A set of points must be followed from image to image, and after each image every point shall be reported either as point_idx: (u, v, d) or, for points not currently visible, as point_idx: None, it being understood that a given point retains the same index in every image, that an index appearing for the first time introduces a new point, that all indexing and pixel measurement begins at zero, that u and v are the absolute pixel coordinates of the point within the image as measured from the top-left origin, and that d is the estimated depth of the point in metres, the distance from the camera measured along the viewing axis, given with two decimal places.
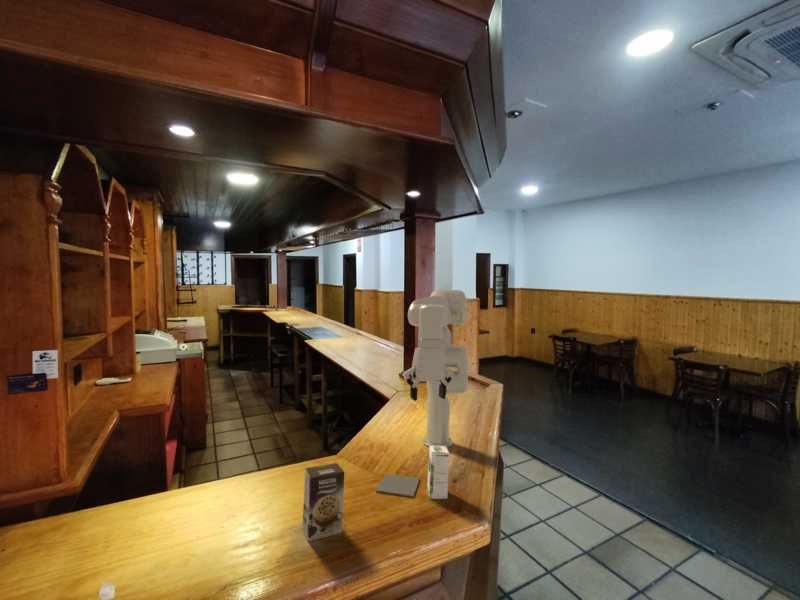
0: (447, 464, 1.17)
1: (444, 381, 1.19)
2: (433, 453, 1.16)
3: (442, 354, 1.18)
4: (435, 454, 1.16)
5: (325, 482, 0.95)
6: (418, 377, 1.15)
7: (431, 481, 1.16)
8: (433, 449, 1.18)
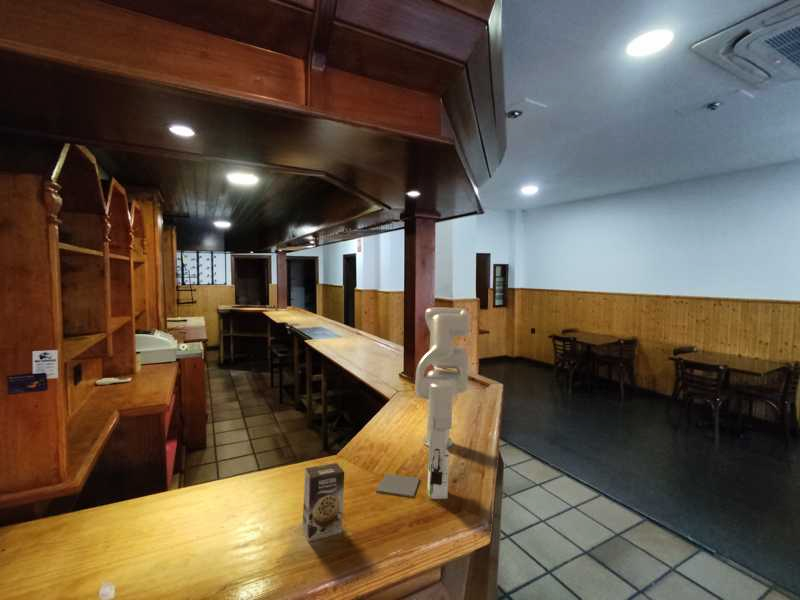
0: (447, 464, 1.17)
1: None
2: None
3: None
4: None
5: (325, 482, 0.95)
6: (443, 459, 1.14)
7: None
8: None
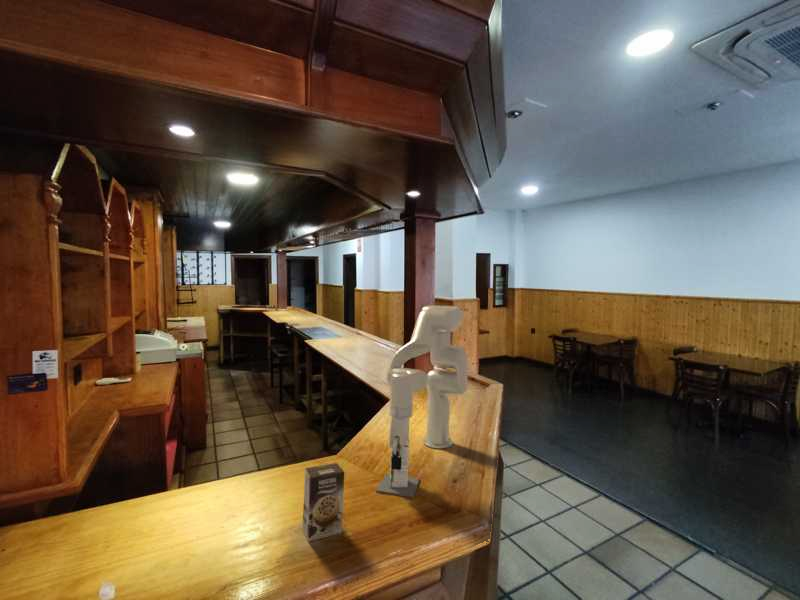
0: (407, 454, 1.21)
1: None
2: None
3: None
4: None
5: (325, 482, 0.95)
6: (403, 446, 1.19)
7: (391, 470, 1.21)
8: None
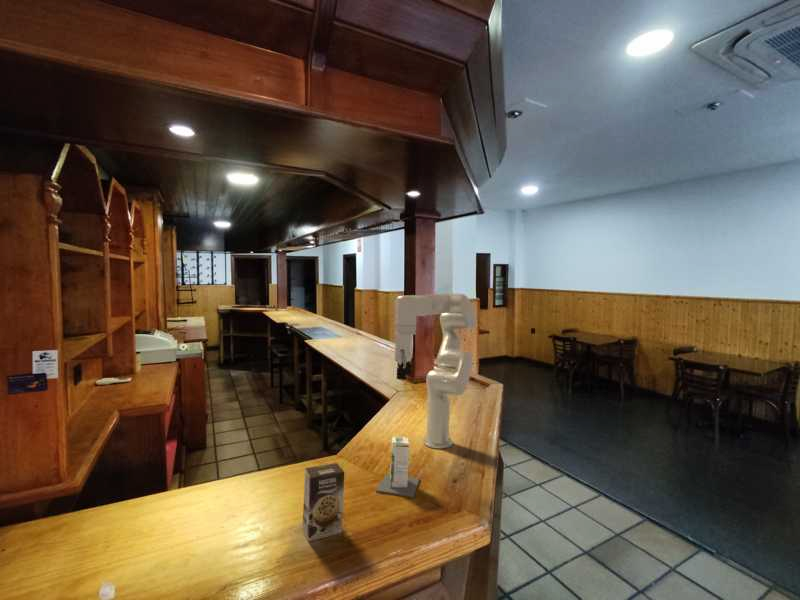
0: (407, 454, 1.21)
1: (410, 359, 1.41)
2: (393, 443, 1.21)
3: None
4: (395, 444, 1.21)
5: (325, 482, 0.95)
6: (407, 358, 1.32)
7: (391, 470, 1.21)
8: (394, 440, 1.23)
